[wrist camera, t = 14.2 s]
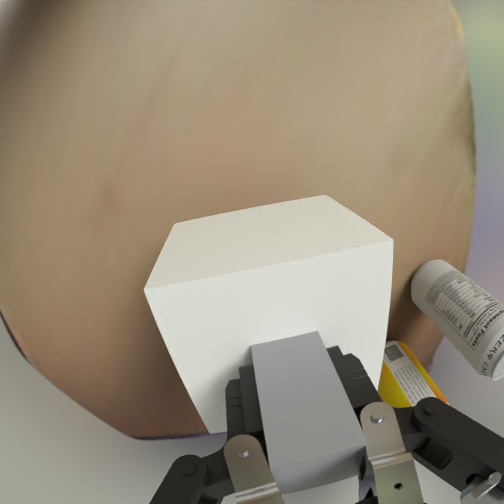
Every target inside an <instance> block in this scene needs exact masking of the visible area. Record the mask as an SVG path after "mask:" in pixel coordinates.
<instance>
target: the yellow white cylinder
mask: <svg viewBox="0 0 504 504" xmlns="http://www.w3.org/2000/svg"><path fill="white" fill-rule="evenodd" d="M377 392H378V394H379V396H380V397H381V399H382V401H383V402H384V403H386V404H388V405H390V406H391V407H395V408H403V407H412V406H415V405H416V404H417V402H418V401H419V400H421V399H423V398H425V397H436V398H438V399H440V400H442V401H443V402H445V403H446V404H448V402H447V401H446V399H445V398H444V396H443V395H442V393H441V392H440V391H439V389H438V388H437V386H436V385H435V383H434V382H433V381H432V379H431V378H430V377H429V375H428V374H427V372H426V371H425V370H424V368H423V367H422V366H421V364H420V363H419V362H418V360H417V359H416V357H415V356H414V355H413V353H412V352H411V351H410V350H409V348H408V347H407V346H406V344H405V343H403V342H401V341H387V342H385V349H384V355H383V362H382V368H381V374H380V379H379V384H378V390H377ZM448 405H449V404H448Z"/></svg>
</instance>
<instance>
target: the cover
mask: <svg viewBox="0 0 504 504" xmlns="http://www.w3.org/2000/svg"><path fill="white" fill-rule="evenodd" d="M392 265H393V239H392V238H390V237H389V236H387V235H386V234H384V233H383V232H382V231H380V230H379V229H377V228H376V227H374V226H373V225H371V224H370V223H368V222H367V221H365V220H364V219H362V218H361V217H359V216H358V215H356V214H355V213H353V212H352V211H350V210H349V209H347V208H345V207H344V206H342V205H341V204H339V203H338V202H336V201H334V200H333V199H331V198H330V197H328V196H326V195H322V196H316V197H310V198H304V199H298V200H292V201H286V202H281V203H275V204H270V205H264V206H259V207H254V208H248V209H243V210H238V211H233V212H228V213H223V214H218V215H213V216H208V217H203V218H199V219H194V220H189V221H185V222H180V223H175V224H174V226H173V228H172V230H171V232H170V234H169V236H168V238H167V240H166V242H165V245H164V247H163V249H162V251H161V253H160V255H159V257H158V259H157V261H156V264H155V266H154V268H153V270H152V272H151V275H150V277H149V279H148V281H147V283H146V286H145V288H144V292H145V295H146V297H147V300H148V303H149V305H150V308H151V310H152V313H153V315H154V318H155V320H156V323H157V325H158V328H159V330H160V332H161V335H162V337H163V339H164V342H165V344H166V346H167V349H168V351H169V353H170V355H171V358H172V360H173V362H174V364H175V366H176V368H177V371H178V373H179V375H180V377H181V379H182V381H183V383H184V385H185V387H186V389H187V391H188V393H189V395H190V397H191V399H192V401H193V403H194V405H195V407H196V409H197V411H198V413H199V414H200V416H201V418H202V420H203V422H204V424H205V426H206V427H207V429H208V431H209V433H218V432H227V418H226V399H225V388H226V386H227V384H228V382H229V380H233V379H239V378H240V375H239V367H241V366H246V365H252V364H253V365H254V371H255V378H256V384H257V391H258V397H259V403H260V409H261V416H262V422H263V428H264V434H265V440H266V446H267V452H268V458H269V464H270V469H271V472H272V474H273V477H274V480H275V482H276V485H277V487H278V489H279V491H280V493H281V494H286V493H292V492H297V491H301V490H306V489H310V488H314V487H318V486H322V485H326V484H330V483H333V482H337V481H340V480H343V479H347V478H350V477H353V476H356V475H357V474H358V469H359V467H360V465H361V462H362V459H363V456H364V449H365V445H367V440H366V438H365V435H364V433H363V431H362V428H361V426H360V424H359V421H358V419H357V417H356V415H355V412H354V410H353V408H352V405H351V403H350V401H349V399H348V396H347V394H346V392H345V390H344V387H343V385H342V383H341V381H340V379H339V376H338V374H337V372H336V370H335V367H334V365H333V363H332V361H331V359H330V356H329V354H328V352H327V350H326V348H329V347H332V346H336V345H338V346H339V348H340V350H341V352H342V354H343V355H346V354H349V353H352V354H353V355H354V356H356V357H357V358H359V359H360V361H361V363H362V365H363V366H364V369H365V370H366V372H367V374H368V376H369V377H370V379H371V381H372V383H373V385H374V386H375V388H376V390H378V384H379V379H380V374H381V368H382V362H383V355H384V349H385V342H386V334H387V326H388V317H389V307H390V296H391V282H392Z"/></svg>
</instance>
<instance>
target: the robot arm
mask: <svg viewBox="0 0 504 504" xmlns="http://www.w3.org/2000/svg"><path fill="white" fill-rule="evenodd" d="M326 350H327V352H328V354H329V356H330V359H331V361H332V363H333V365H334V367H335V370H336V372H337V374H338V376H339V379H340V381H341V383H342V385H343V387H344V390H345V392H346V394H347V396H348V399H349V401H350V403H351V405H352V408H353V410H354V412H355V415H356V417H357V419H358V421H359V424H360V426H361V428H362V431H363V433H364V435H365V438H366V440H367V445H365V449H364V456H363V459H362V462H361V465H360V467H359V469H358V480H359V502H357V503H355V504H426V503H424V502H423V498H422V493H421V489H420V484H419V480H418V476H417V472H416V468H415V464H414V460H413V459H415V460H416V461H418V462H419V463H420V464H422V465H423V466H425V467H426V468H427V469H429V470H430V471H432V472H433V473H434V474H436V475H437V476H438V477H440V478H441V479H443V480H444V481H446V482H447V483H449V484H450V485H452V486H453V487H454V488H456V489H457V490H459V491H460V492H462V493H461V496H460V501H461V504H504V438H502V437H501V436H499V435H497V434H496V433H494V432H492V431H491V430H489V429H487V428H486V427H484V426H482V425H481V424H479V423H477V422H476V421H474V420H472V419H471V418H469V417H468V416H466V415H464V414H463V413H461V412H459V411H458V410H456V409H454V408H453V407H451V406H450V405H448V404H446V403H445V402H443V401H442V400H440V399H438V398H436V397H425V398H423V399H421V400H419V401H418V402H417V404H416V405H415V406H412V407H403V408H395V407H391V406H390V405H388V404H386V403H384V402H383V401H382V399H381V397H380V396H379V394H378V392H377V390H376V388H375V386H374V385H373V383H372V381H371V379H370V377H369V376H368V374H367V372H366V370H365V369H364V366H363V365H362V363H361V361H360V359H359V358H357V357H356V356H354V355H353V354H352V353H349V354H346V355H343V354H342V352H341V350H340V348H339V346H338V345H336V346H332V347H329V348H326ZM239 375H240V378H239V379H233V380H229V382H228V384H227V386H226V388H225V399H226V418H227V441H226V443H225V445H224V446H223V447H222V448H221V449H220V450H219V451H217V452H215V453H213V454H211V455H208V456H206V457H203V458H200V457H198V456H196V455H184V456H181V457H179V458H178V459H176V461H174V463H173V464H172V466H171V468H170V469H169V471H168V473H167V475H166V476H165V478H164V480H163V481H162V483H161V485H160V487H159V488H158V490H157V492H156V493H155V495H154V497H153V498H152V500H151V502H150V503H149V504H221V502H222V500H223V497H225V496H227V495H230V494H232V493H235V492H236V502H237V504H285V503H284V500H283V498H282V496H281V493H280V491H279V489H278V487H277V485H276V482H275V480H274V478H273V475H272V473H271V470H270V466H269V460H268V452H267V446H266V440H265V434H264V428H263V422H262V416H261V409H260V403H259V397H258V391H257V384H256V378H255V371H254V365H253V364H252V365H246V366H241V367H239Z"/></svg>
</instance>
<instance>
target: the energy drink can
mask: <svg viewBox="0 0 504 504" xmlns="http://www.w3.org/2000/svg"><path fill="white" fill-rule="evenodd" d="M411 297H412V301H413V302H414V304H415V305H416V306H417V307H418V308H419V309H420V310H421V311H422V312H423V313H424V314H425V315H426V316H427V317H428V318H429V319H430V320H431V321H432V322H433V323H434V324H435V326H436V327H437V328H438V329H439V330H440V331H441V332H442V333H443V334H444V335H445V336H446V337H447V339H448V340H449V341H450V342H451V343H452V344H453V345H454V346H455V347H456V348H457V350H458V351H459V352H460V353H461V354H462V355H463V356H464V358H465V359H466V360H467V361H468V362H469V363H470V364H471V366H472V367H473V368H474V369H475V370H476V372H477V373H478V374H480V375H485V376H489V377H491V378H492V380H493V381H496V380H498V379H500V378H502V377H503V376H504V306H503V305H502V304H500V303H499V302H498V301H497V300H496V299H494V298H493V297H492V296H491V295H489V294H488V293H487V292H486V291H484V290H483V289H482V288H480V287H479V286H478V285H477V284H475V283H474V282H473V281H471V280H470V279H469V278H467V277H466V276H465V275H463V274H462V273H461V272H459V271H458V270H456V269H455V268H454V267H452V266H451V265H449V264H448V263H447V262H445V261H444V260H434V261H428V262H426V263H424V264H423V265H422V266H421V267H420V268H419V269H418V270H417V271H416V273H415V274H414V276H413V278H412V282H411Z"/></svg>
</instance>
